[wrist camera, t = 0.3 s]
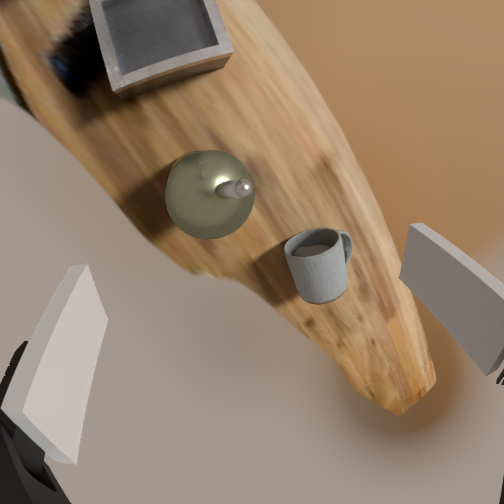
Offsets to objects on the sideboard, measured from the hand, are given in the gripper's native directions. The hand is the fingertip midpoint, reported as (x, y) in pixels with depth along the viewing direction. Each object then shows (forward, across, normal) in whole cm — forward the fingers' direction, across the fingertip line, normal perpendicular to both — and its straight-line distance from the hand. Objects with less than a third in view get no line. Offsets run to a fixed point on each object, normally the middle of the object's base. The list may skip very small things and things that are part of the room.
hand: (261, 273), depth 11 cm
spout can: (+27, -3, -3) cm, 27 cm away
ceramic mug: (+27, +12, -15) cm, 33 cm away
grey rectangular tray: (+29, -6, +17) cm, 35 cm away
